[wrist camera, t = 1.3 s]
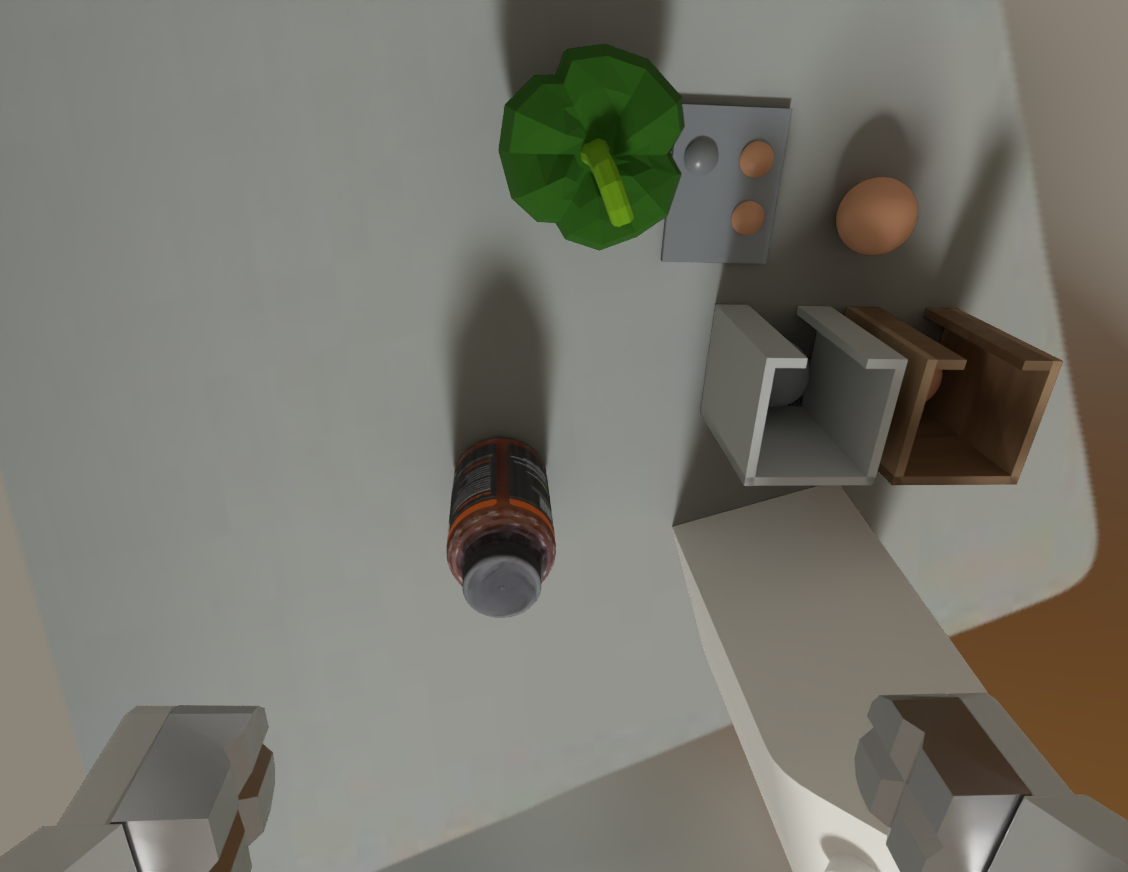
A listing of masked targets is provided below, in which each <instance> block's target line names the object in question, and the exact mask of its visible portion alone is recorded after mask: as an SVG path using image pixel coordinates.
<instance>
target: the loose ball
mask: <svg viewBox="0 0 1128 872" xmlns="http://www.w3.org/2000/svg"><path fill="white" fill-rule="evenodd" d="M917 218H918V206H917V201H916V198H915V196H914V194H913V193H912V191H911V190H910V189H909V188H908V187H907V186H906V185H905V184H904V183H902V182H900V181H898V180H896V179H893V178H888V177H876V178H871V179H867V180H865V181H863V182H861V183H859V184H857V185H856V186H854V187H853V188H852V189H851V190H850V191H849V192H848V193H847V194H846V195H845V197H844V198H843V200H842V201H841V203H840V206H839V208H838V212H837V217H836V225H837V230H838V233H839V236H840V238H841V239H842V241H843V242H844V243H845V244H846V245H847V246H848V247H849V248H850V249H852V250H854V251H855V252H858V253H861V254H864V255H880V254H884V253H888V252H890V251H892V250H894V249H896V248H897V247H899V246H900V245H902V244H903V243H904V242H905V241H906V240H907V239H908V237H909V236H910V235H911V233H912V231H913V230H914V228H915V225H916V222H917Z"/></svg>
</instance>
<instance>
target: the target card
mask: <svg viewBox="0 0 1128 872" xmlns="http://www.w3.org/2000/svg"><path fill="white" fill-rule="evenodd" d="M682 106H683V114H684V123H685V127H684V129H683V131H682V133H681V134H680V136H679V138H678V140H677V141H676V143H675V145H674V147H673V148H672V157H673V159H674V160H675V162H676V164H677V166H678V168H679V169H680V171H681V173H682V175H681V178H680V181H679V184H678V187H677V190H676V193H675V196H674V199H673V202H672V205H671V208H670V211H669V214H668V216H667V217H665V224H664V234H663V244H662V254H661V261H662V262H703V263H746V264H766V262H767V256H768V250H769V244H770V239H771V233H772V227H773V221H774V215H775V209H776V203H777V197H778V191H779V185H780V179H781V173H782V167H783V161H784V155H785V149H786V143H787V137H788V131H789V125H790V119H791V114H792V109H786V108H764V107H741V106H718V105H695V104H682Z"/></svg>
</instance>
